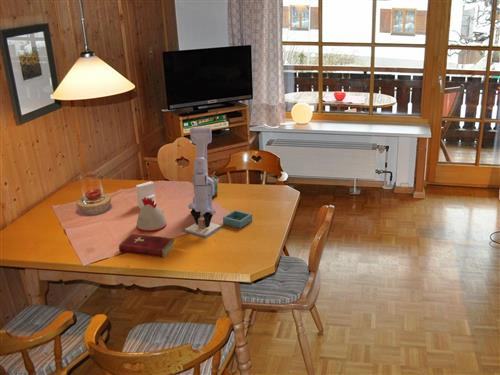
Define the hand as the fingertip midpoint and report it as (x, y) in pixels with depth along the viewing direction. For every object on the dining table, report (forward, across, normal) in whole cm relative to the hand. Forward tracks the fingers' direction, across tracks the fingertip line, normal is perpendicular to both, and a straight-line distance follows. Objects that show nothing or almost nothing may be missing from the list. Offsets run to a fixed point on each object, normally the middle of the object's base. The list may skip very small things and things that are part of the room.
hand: (202, 225), depth 264 cm
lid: (+2, 0, 0) cm, 2 cm away
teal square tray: (+2, +10, +14) cm, 17 cm away
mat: (+2, 0, 0) cm, 2 cm away
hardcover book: (+3, -9, -28) cm, 29 cm away
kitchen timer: (+2, -23, -10) cm, 25 cm away
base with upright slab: (+2, -43, +8) cm, 44 cm away
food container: (+2, -21, +36) cm, 42 cm away
